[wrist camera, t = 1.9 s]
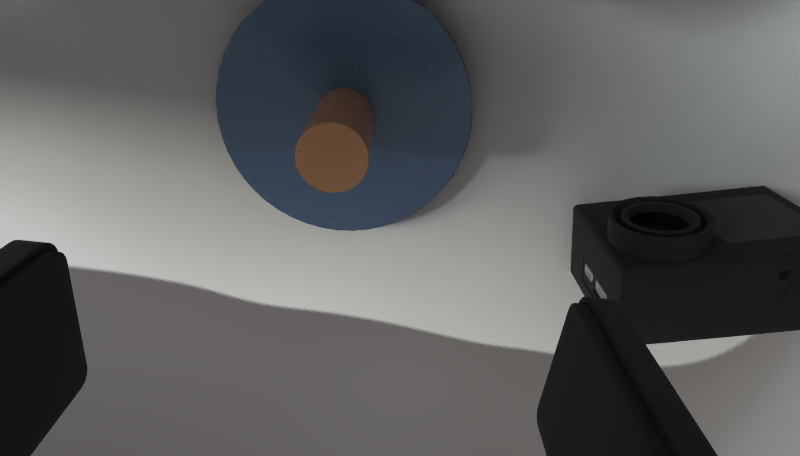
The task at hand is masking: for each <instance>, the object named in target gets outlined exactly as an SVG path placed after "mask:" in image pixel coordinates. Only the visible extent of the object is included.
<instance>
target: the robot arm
mask: <svg viewBox="0 0 800 456" xmlns="http://www.w3.org/2000/svg"><path fill="white" fill-rule="evenodd" d="M86 376H87V363H86V358H85V353H84V348H83V343H82V338H81V333H80V327H79V322H78V316H77V311H76V306H75V301H74V296H73V291H72V285H71V280H70V275H69V269H68V264H67V260H66V257H65V255H64V254H63V253H61V252H58V250H57V248H56V247H55V246H54V245H53V244H51V243H44V242H33V241H23V240H14V241H12V242H10V243H8V244H7V245H5V246H4V247H3V248H1V249H0V456H30V455H31V454H32V453H33V452H34V450H35V449H36V448H37V446H38V445H39V443H40V442H41V441H42V439H43V438H44V437H45V435H46V434H47V433H48V432H49V430H50V429H51V428H52V426H53V425H54V424H55V422H56V421H57V420H58V418H59V417H60V416H61V414H62V413H63V412H64V410H65V409H66V408H67V406H68V405H69V404H70V402H71V401H72V400H73V398H74V397H75V395H76V394H77V393H78V392H79V391H80V389H81V388H82V386H83V384H84V382H85V380H86ZM537 424H538V428H539V432H540V435H541V438H542V442H543V445H544V448H545V451H546V455H547V456H717V454H716V453H715V451H714V449H713V448H712V447H711V445H710V443H709V442H708V440H707V439H706V437H705V436H704V434H703V433H702V431H701V429H700V428H699V426H698V425H697V423H696V422H695V420H694V419H693V417H692V416H691V414H690V413H689V411H688V410H687V408H686V406H685V405H684V403H683V402H682V400H681V399H680V397H679V396H678V394H677V392H676V391H675V389H674V388H673V386H672V385H671V383H670V382H669V380H668V379H667V377H666V376H665V374H664V373H663V371H662V370H661V368H660V366H659V365H658V363H657V362H656V360H655V359H654V357H653V356H652V354H651V352H650V351H649V349H648V348H647V346H646V345H645V343H644V342H643V340H642V339H641V337H640V335H639V334H638V332H637V331H636V329H635V328H634V326H633V325H632V323H631V322H630V320H629V319H628V317H627V315H626V314H625V312H624V311H623V309H622V308H621V306H620V305H619V303H618V302H617V301H616V300H613V299H605V298H595V297H583V298H582V299H581V300H580V301H579V303H573V304H572V305H571V306H570V308H569V310H568V313H567V317H566V320H565V323H564V326H563V329H562V332H561V335H560V339H559V342H558V345H557V348H556V351H555V354H554V358H553V361H552V364H551V367H550V370H549V374H548V377H547V380H546V383H545V386H544V389H543V393H542V396H541V399H540V402H539V405H538V409H537Z"/></svg>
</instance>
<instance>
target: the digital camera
mask: <svg viewBox="0 0 800 456" xmlns="http://www.w3.org/2000/svg"><path fill="white" fill-rule="evenodd" d="M573 210H574V211H573V233H572V254H571V273H572V274H573V276H574V278H575V280H576V281H577V283H578V285H579V287H580V288H581V290H582V292H583V294H584V295H585V297H595V298H605V299H613V300H616V301H617V302H618V303H619V305H620V306H621V308H622V309H623V311H624V312H625V314H626V315H627V317H628V319H629V320H630V322H631V323H632V325H633V326H634V328H635V329H636V331H637V332H638V334H639V335H640V337H641V339H642V340H643V342H644V343H645V344H655V343H667V342H678V341H688V340H699V339H710V338H721V337H732V336H742V335H753V334H764V333H773V332H784V331H794V330H800V207H799V206H797V205H795V204H794V203H792V202H790V201H788V200H787V199H785V198H783V197H782V196H780V195H778V194H777V193H775V192H773V191H771V190H770V189H768V188H766V187H765V186H759V187H749V188H739V189H729V190H719V191H710V192H700V193H690V194H680V195H670V196H660V197H656V196H649V197H636V198H630V199H626V200H622V201H613V202H603V203H593V204H584V205H576V206H575V207H574V209H573Z"/></svg>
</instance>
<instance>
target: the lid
mask: <svg viewBox="0 0 800 456" xmlns="http://www.w3.org/2000/svg"><path fill="white" fill-rule="evenodd" d="M216 107H217V117H218V122H219V126H220V131H221V135H222V138H223V140H224V143H225V146H226V148H227V151H228V153H229V155H230V157H231V159H232V160H233V162H234V164H235V166H236V167H237V169H238V170H239V172H240V173H241V175H242V176H243V178H244V179H245V180H246V181H247V182H248V183H249V185H250V186H251V187H252V188H253V189H254V190H255V191H256V192H257V193H258V194H259V195H260V196H261V197H262V198H264V199H265V200H266V201H267V202H268V203H270V204H271V205H273V206H274V207H276V208H277V209H278V210H280V211H282V212H284V213H285V214H287V215H289V216H291V217H293V218H295V219H297V220H300V221H302V222H305V223H307V224H311V225H315V226H318V227H322V228H328V229H334V230H351V231H352V230H366V229H371V228H377V227H382V226H385V225H388V224H391V223H394V222H397V221H399V220H401V219H403V218H405V217H407V216H409V215H411V214H413V213H414V212H416V211H417V210H419V209H421V208H422V207H423V206H425V205H426V204H427V203H428V202H430V201H431V200H432V199H433V198H434V197H435V196H436V195H437V194H438V193H439V192H440V191H441V190H442V189H443V188H444V187H445V185H446V184H447V183H448V181H449V180H450V179H451V177H452V176H453V174H454V172H455V171H456V169H457V167H458V165H459V163H460V162H461V159H462V157H463V154H464V152H465V149H466V146H467V142H468V139H469V135H470V130H471V121H472V96H471V89H470V82H469V79H468V75H467V72H466V68H465V65H464V63H463V60H462V58H461V56H460V53H459V51H458V49H457V47H456V46H455V44H454V42H453V41H452V39H451V37H450V36H449V34H448V33H447V32H446V30H445V29H444V28H443V27H442V25H441V24H440V23H439V22H438V20H437V19H436V18H435V17H434V16H433V15H432V14H431V13H430V12H429V11H427V10H426V9H425V8H424V7H423V6H422V5H421V4H419V3H418V2H416V1H415V0H265V1H263V2H262V3H261V4H260V5H258V6H257V7H256V8H255V9H254V10H253V11H252V12H251V13H250V14H249V15H248V16H247V17H246V18H245V19H244V20H243V21H242V23H241V24H240V26H239V27H238V29H237V30H236V32H235V33H234V35H233V36H232V38H231V40H230V42H229V44H228V46H227V48H226V50H225V52H224V56H223V59H222V62H221V65H220V68H219V74H218V80H217V87H216Z"/></svg>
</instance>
